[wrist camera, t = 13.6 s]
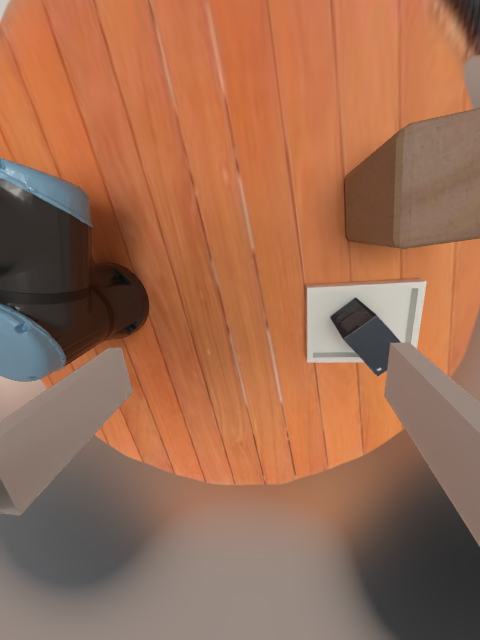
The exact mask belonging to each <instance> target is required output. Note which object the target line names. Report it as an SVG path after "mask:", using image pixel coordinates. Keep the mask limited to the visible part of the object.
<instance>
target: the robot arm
mask: <svg viewBox="0 0 480 640" xmlns="http://www.w3.org/2000/svg"><path fill="white" fill-rule="evenodd" d="M91 229H93V225H92V223H91V213H90V201H89V198H88V196H87V194H86V193H85V192H84V191H83V190H82V189H81V188H80V187H78V186H76V185H74V184H72V183H70V182H67V181H65V180H62V179H60V178H57V177H55V176H52V175H49V174H47V173H44V172H41V171H38V170H35V169H33V168H30V167H27V166H24V165H21V164H18V163H15V162H12V161H7V160H5V159H2V158H0V376H2V377H5V378H8V379H11V380H15V381H24V382H27V381H35V380H38V379H41V378H43V377H45V376H47V375H49V374H51V373H53V372H54V371H58V370H60V369H62V368H63V367H64V366H66V365H67V364H69V363H70V362H72V361H73V360H75V359H77V358H78V357H80V356H81V355H83V354H84V353H86V352H87V351H89V350H90V349H92V348H93V347H95V346H96V345H98V344H100V343H101V342H103V341H105V340H112V339H119V338H124V337H126V336H129V335H131V334H132V333H134V332H135V331H137V330H138V329H139V328H140V327H141V326H142V325H143V324H144V322H145V321H146V318H147V315H148V310H149V303H148V297H147V294H146V291H145V289H144V287H143V285H142V284H141V282H140V281H139V279H138V278H137V277H136V276H135V275H134V274H133V273H132V272H130V271H129V270H128V269H126V268H124V267H122V266H120V265H117V264H113V263H100V264H94V265H91ZM132 393H133V390H132V386H131V382H130V378H129V375H128V371H127V367H126V363H125V359H124V355H123V352H122V348H108V349H106V350H105V351H103V352H102V353H100V354H99V355H97V356H96V357H94V358H93V359H91V360H90V361H88V362H87V363H86V364H84V365H83V366H81V367H80V368H78V369H77V370H75V371H74V372H72V373H71V374H69V375H68V376H66V377H65V378H63V379H62V380H60V381H59V382H58V383H56V384H55V385H53V386H52V387H50V388H49V389H47V390H46V391H44V392H43V393H41V394H40V395H38V396H37V397H35V398H34V399H33V400H31V401H30V402H28V403H27V404H25V405H24V406H22V407H21V408H19V409H18V410H16V411H15V412H13V413H12V414H10V415H9V416H7V417H6V418H4V419H3V420H2V421H0V513H3V514H13V515H21V514H22V513H23V512H24V510H25V509H26V508H27V507H28V506H29V505H30V504H31V503H32V502H33V501H34V500H35V499H36V497H37V496H38V495H39V494H40V493H41V492H42V491H43V490H44V489H45V488H46V486H47V485H48V484H49V483H50V482H51V481H52V480H53V479H54V478H55V477H56V475H57V474H58V473H59V472H60V471H61V470H62V469H63V468H64V467H65V466H66V465H67V463H68V462H69V461H70V460H71V459H72V458H73V457H74V456H75V455H76V454H77V453H78V452H79V450H80V449H81V448H82V447H83V446H84V445H85V444H86V443H87V442H88V441H89V440H90V438H91V437H92V436H93V435H94V434H95V433H96V432H97V431H98V430H99V429H100V428H101V426H102V425H103V424H104V423H105V422H106V421H107V420H108V419H109V418H110V417H111V416H112V414H113V413H114V412H115V411H116V410H117V409H118V408H119V407H120V406H121V405H122V404H123V402H124V401H125V400H126V399H127V398H128V397H129V396H130V395H131V394H132ZM384 396H385V398H386V399H387V401H388V402H389V404H390V405H391V407H392V409H393V410H394V412H395V413H396V415H397V417H398V418H399V420H400V421H401V423H402V424H403V426H404V428H405V429H406V431H407V432H408V434H409V435H410V437H411V439H412V440H413V442H414V443H415V445H416V447H417V448H418V449H419V451H420V453H421V454H422V456H423V458H424V459H425V461H426V462H427V464H428V465H429V467H430V469H431V470H432V472H433V473H434V475H435V476H436V478H437V480H438V481H439V483H440V484H441V486H442V488H443V489H444V490H445V492H446V494H447V495H448V497H449V499H450V500H451V502H452V503H453V505H454V506H455V508H456V510H457V511H458V513H459V514H460V516H461V518H462V519H463V521H464V522H465V524H466V526H467V527H468V529H469V530H470V532H471V533H472V535H473V537H474V538H475V540H476V541H477V543H478V544H479V546H480V403H479V402H478V401H476V400H475V399H474V398H473V397H472V396H471V395H470V394H468V393H467V392H466V391H465V390H464V389H462V388H461V387H460V386H459V385H458V384H457V383H456V382H454V381H453V380H452V379H451V378H450V377H449V376H447V375H446V374H445V373H444V372H443V371H442V370H441V369H439V368H438V367H437V366H436V365H435V364H434V363H432V362H431V361H430V360H429V359H428V358H427V357H425V356H424V355H423V354H422V353H421V352H420V351H418V350H417V349H416V348H415V347H414V346H413V345H412V344H410V343H390V350H389V359H388V368H387V377H386V386H385V395H384Z"/></svg>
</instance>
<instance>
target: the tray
mask: <svg viewBox="0 0 480 640" xmlns="http://www.w3.org/2000/svg"><path fill="white" fill-rule="evenodd" d="M426 283H427V281H424V280H421V279H418V278H413V279H396V280H378V281H360V282H343V283H325V284H307V285H306V358H307V362H364V361H363V360H362V359H361V358H360V357H359V356H358V355H357V354H356V353H355V352H354V351H353V350H352V348H351V347H350V346H349V345H348V344H347V343H346V342H345V341H343V339H342V337H341V335H340V333H339V332H338V330H337V328H336V327H335V325H334V323H333V322H332V320H331V318H330V317H331V316H332V315H333V314H334V313H336V312H337V311H338V310H340V309H341V308H342V307H344V306H345V305H346V304H348V303H349V302H350V301H351V300H353V299H354V298H357V299H359V300H360V301H361V302H362V303H363V304H365V305H366V306H367V307H368V308H369V309H371V310H372V311H373V312H374V313H375V314H377V315H378V316H379V318H380V319H381V320H382V321H383V322H384V323H385V324H386V326H387V327H388V328H389V329H390V330H391V331H392V332H393V333H394V335H395V336H396V337H397V338H398V339H399V340H400V342H401V343H410V344H412V345H413V346H414V347H415V348H416V349H417V343H418V337H419V330H420V323H421V316H422V310H423V303H424V296H425V289H426Z"/></svg>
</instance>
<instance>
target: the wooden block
mask: <svg viewBox="0 0 480 640" xmlns="http://www.w3.org/2000/svg"><path fill="white" fill-rule="evenodd" d="M345 205H346V237H347V239H348V240H349V241H353V242H360V243H367V244H374V245H381V246H388V247H395V248H403V249H406V248H414V247H421V246H428V245H435V244H443V243H450V242H457V241H464V240H472V239H479V238H480V108H477V109H473V110H468V111H464V112H459V113H455V114H450V115H446V116H441V117H437V118H432V119H428V120H423V121H419V122H414V123H410V124H408V125H407V126H405V127H404V128H402V129H401V130H399V131H398V132H397V133H396V134H395V135H393V136H392V137H391V138H390V139H389V140H388V141H386V142H385V143H384V144H383V145H382V146H381V147H379V148H378V149H377V150H376V151H375V152H373V153H372V154H371V155H370V156H369V157H368V158H366V159H365V160H364V161H363V162H362V163H360V164H359V165H358V166H357V167H356V168H355V169H353V170H352V171H351V172H350V173H349V174H348V175H347V176H346V179H345Z"/></svg>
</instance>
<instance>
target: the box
mask: <svg viewBox="0 0 480 640" xmlns="http://www.w3.org/2000/svg"><path fill="white" fill-rule="evenodd" d="M330 318H331V320H332V322H333V323H334V325H335V327H336V328H337V330H338V332H339V333H340V335H341V337H342V339H343V341H345V342H346V343H347V344H348V345H349V346H350V347H351V348H352V350H353V351H354V352H355V353H356V354H357V355H358V356H359V357H360V358H361V359H362V360H363V361H364V362H365V363H366V365H367V366H368V367H369V368H370V369H371V370H372V371H373V372H374V374H375V375H376V376H379V375H380V374H382V373H383V372H385V371H387V368H388V359H389V350H390V343H401V342H400V340H399V339H398V338H397V337H396V336H395V335H394V333H393V332H392V331H391V330H390V329H389V328H388V327H387V326H386V324H385V323H384V322H383V321H382V320H381V319H380V318H379V316H378V315H377V314H375V313H374V312H373V311H372V310H371V309H369V308H368V307H367V306H366V305H365V304H363V303H362V302H361V301H360V300H359V299H357V298H354V299H353V300H351V301H350V302H349V303H348V304H346V305H345V306H344V307H342V308H341V309H340V310H338V311H337V312H336V313H334V314H333V315H332V316H331V317H330Z"/></svg>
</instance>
